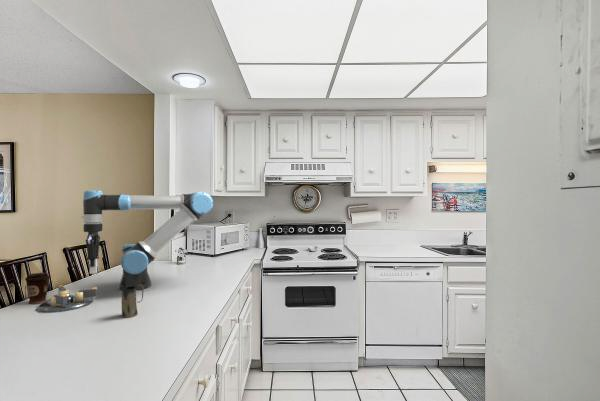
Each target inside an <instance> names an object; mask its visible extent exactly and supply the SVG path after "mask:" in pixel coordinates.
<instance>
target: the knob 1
mask: <svg viewBox="0 0 600 401" xmlns="http://www.w3.org/2000/svg"><path fill="white" fill-rule="evenodd" d="M65 293H69V294H70V290H69V289H67V288H65V286H64V285H63V284H61V285H58V294H60V295H64V294H65Z"/></svg>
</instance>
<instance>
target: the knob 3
mask: <svg viewBox="0 0 600 401" xmlns="http://www.w3.org/2000/svg"><path fill="white" fill-rule="evenodd" d="M97 291H98V288H97V287H95V286H94V287H92V288H87V289H79V290H78V291H75V292H74V296H75V302H81V301H84V298H88V297H93V298H96V297H97V296H98V294H97V293H98V292H97Z"/></svg>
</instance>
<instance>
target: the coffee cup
mask: <svg viewBox="0 0 600 401" xmlns="http://www.w3.org/2000/svg"><path fill="white" fill-rule="evenodd" d="M49 279H50V275H49V274H48V272H36V273H29V274H27V276H26V277H25V279H24V280H25V282H26V285H25V287H26V291H27V297H28V299H29V300H28V304H30V305H31V304H33V305H34V304H40V303H41V304H42V303H45V302H47V294H48V287H49V286H48V285H49V284H48V283H49Z"/></svg>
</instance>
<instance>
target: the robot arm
mask: <svg viewBox="0 0 600 401" xmlns="http://www.w3.org/2000/svg"><path fill="white" fill-rule="evenodd" d="M82 202H83V203H82V204H83V216H82V217H81V218H82V219H83V232H84V233H88V234H87V236H86V239H85V243H86V251H87V252H86V254H87V255H86V256H87V259H86V260H87V261H88V260H89V274H90V275H91V274H92V275H93V274H97V273H98V260H99V259H100V257H99V253H100V251H99V250H100V242H101V236H100V235H99V232H102V231H103V211H129V210H178V211H177V212H176V213H174V214H173V216H172V217H170V218H169V219H168V220H167V221H165V222H164V223H163V224H162V225H161V226H160V227H159V228H158V229H156V230H155V231H153V233H151V234H150V235H149V236H148V237H147V238H146V239H145V240H143V241H138V242H136V243H132V244H131V243H130V244H129V243H128V244H124V245H123V246H122V249H121V252H122V255H121V258H120V266H121V268H122V275H121V278H120V282H119V286H118V287H119V288H118V289H119V290H120V291H122V290H123V288H125V287H131V286H135V287H136V286H137V285H143V290H144V289H147V288H148V289H149V287H151V286H152V280H151V278H150V275H149V272H148V266H149V264H150V263H152V262H153V261H154V260H155V259H156V257H157V253H159V252H160V251H161V250H162V249H163V248H164V247H165V246H166V245H167V244H168V243H170V242H171V240H173V239H174V238H176V236H177V235H179V233H181V232H182V231H183V230H185V228H186V227H187V226H189V225H190V224H191V223H192V222H194V221H199V220H200V219H201V218H202V217H203V216H205V215H206V214H209V213H210V212H211V211H212V210H213V207H214V200H213V197H212V196H211V195H210V194H208V193H207V192H205V191H197V192H192V193H181V195H145V194H144V195H143V194H142V195H137V194H136V195H133V194H130V195H129V194H103V191H102V190H85V191H84V192H83V198H82ZM139 290H142V286H137V288H136V291H139Z"/></svg>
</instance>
